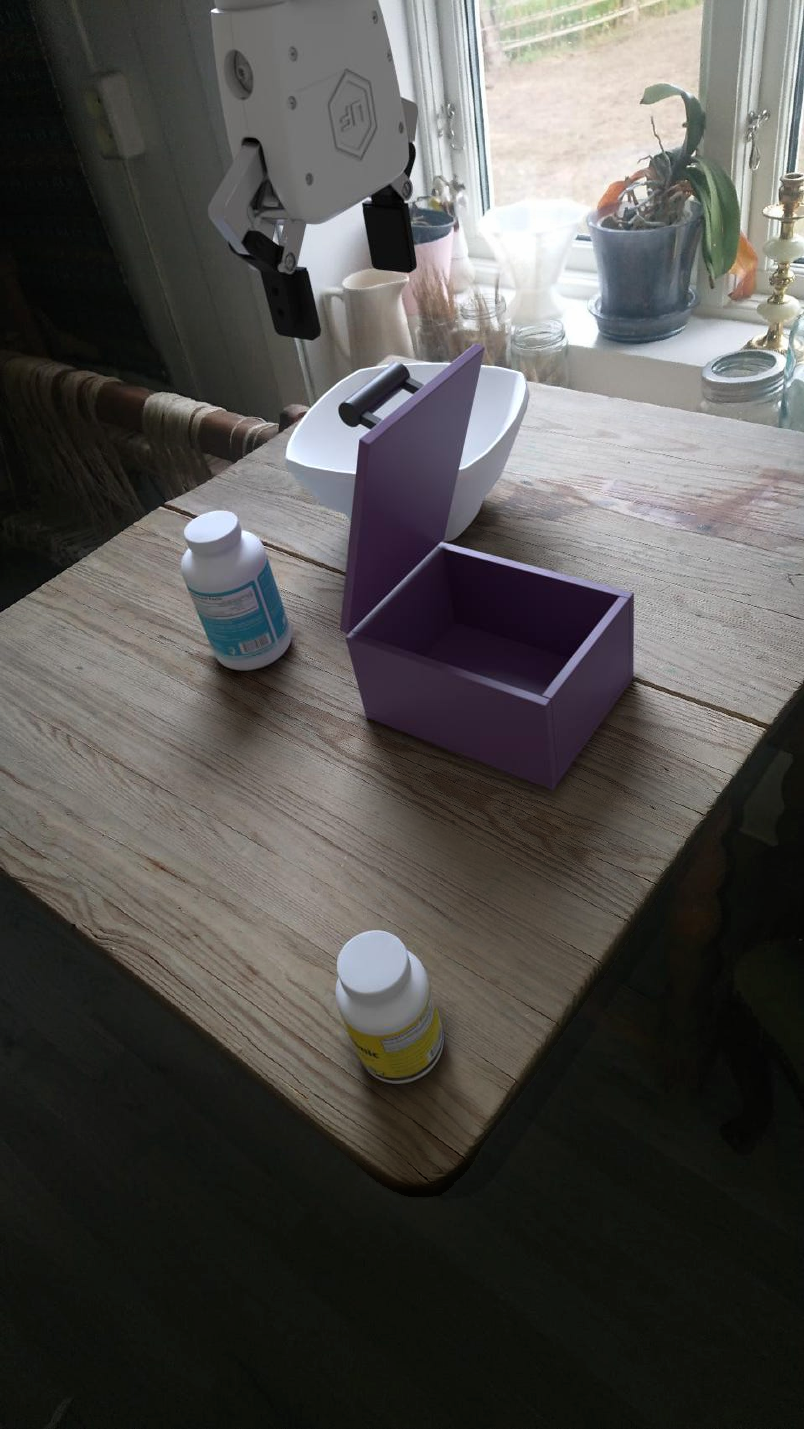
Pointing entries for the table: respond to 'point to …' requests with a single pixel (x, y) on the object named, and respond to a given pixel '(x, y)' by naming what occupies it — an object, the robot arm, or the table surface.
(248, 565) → the pill bottle
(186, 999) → the table surface
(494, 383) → the bowl
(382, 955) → the supplement bottle
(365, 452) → the lid
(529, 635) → the purple box
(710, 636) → the table surface
